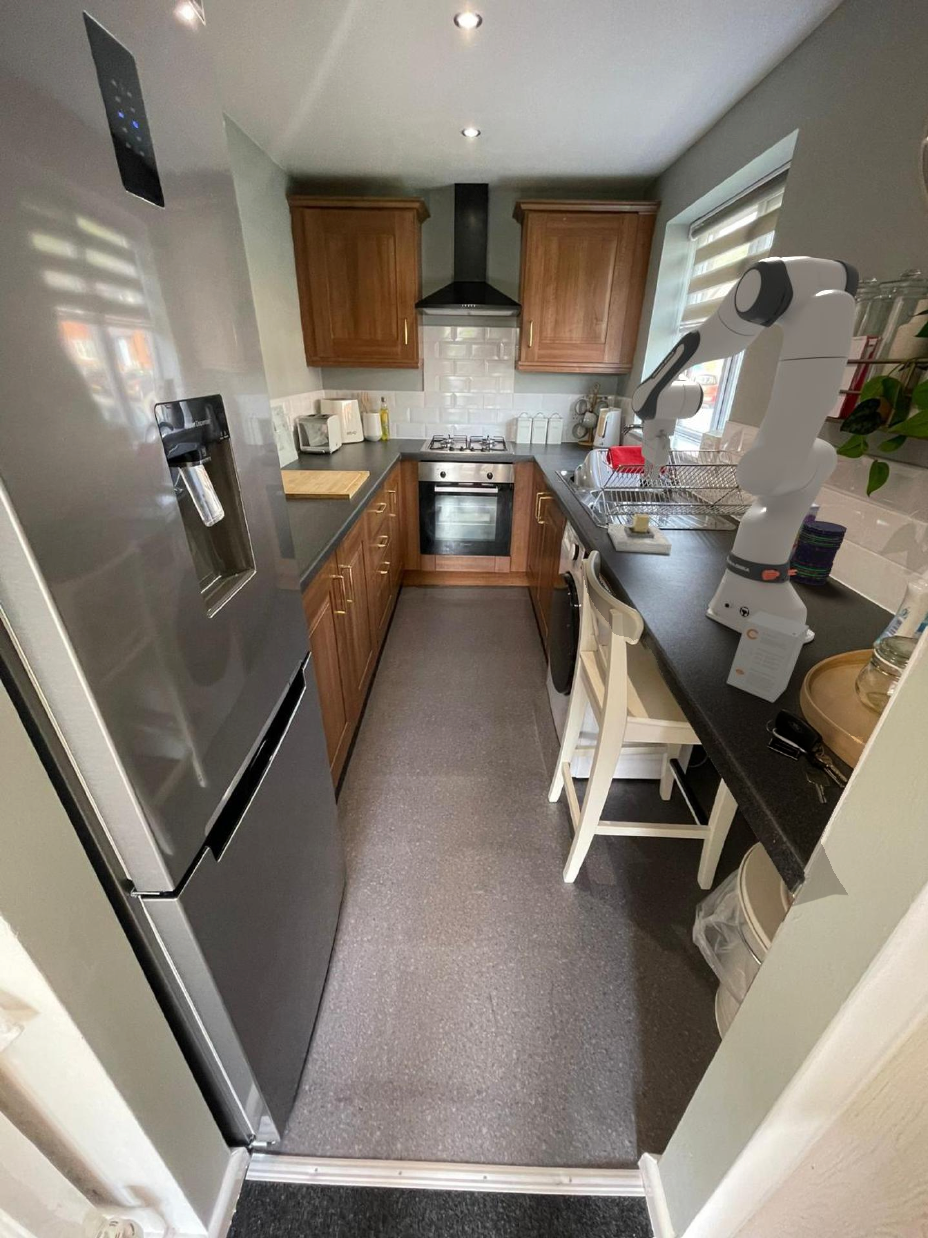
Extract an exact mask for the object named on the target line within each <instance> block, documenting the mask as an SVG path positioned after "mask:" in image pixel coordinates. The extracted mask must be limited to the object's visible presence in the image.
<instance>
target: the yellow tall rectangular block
mask: <svg viewBox="0 0 928 1238" xmlns="http://www.w3.org/2000/svg"><path fill="white" fill-rule="evenodd" d="M650 519H651V518H650V516H649V514H645V513H634V515H633V519H632V520H633V521H632V524H631V525H632V531H631V533H643V534H647V530H648V526H650V525H649V524H650Z"/></svg>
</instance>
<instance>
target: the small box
mask: <svg viewBox="0 0 928 1238" xmlns="http://www.w3.org/2000/svg"><path fill="white" fill-rule="evenodd" d="M809 627H810V626H809V625H807V624H805V625H804V624H801V623H797V622H794V621H791V620H788V619H785V618H782V617H778V616H775V615H772V614H769V613H766V612H763V611H759V612H757V613H756V614H755V615H753V616H752V617H750V618H749V619H747V620H746V622H745V626H744V629H743V632H742V633H741V636H740V638H739V643H738V645H737V649H736V650H735V651H736V652H735V655H734V657H733V661H732V664H731V667H730V671H729V673H728V677H727V680H726V684H728V685H730V686H733V687H735V688H737V689H740V690H741V691H742V690H743V691H745V692H747V693H749V694H752V695H753V696H757V697H759V698H761V699H764V700H766V701H768V702H770V703H774V702H776V700H777V699H778V698H779V697H780V696H781V694H783V692H785V691H786V689H787V687H788V684H789V681H790V679H791V676H792V673H793V671H794V669H795V666H796V663H797V660H798V657H799V656H800V653H801V650H802V648H803V645H804V643H803V642H804V640H805V637H806V634H807V631H808V629H810V628H809Z"/></svg>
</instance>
